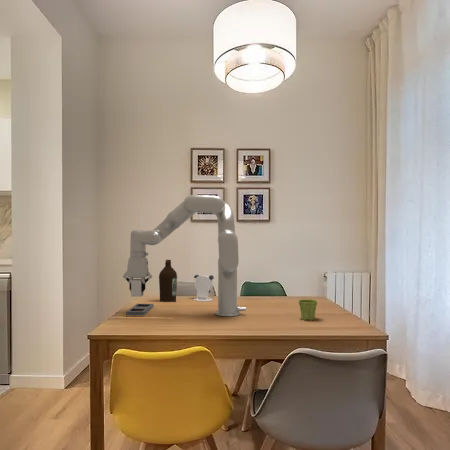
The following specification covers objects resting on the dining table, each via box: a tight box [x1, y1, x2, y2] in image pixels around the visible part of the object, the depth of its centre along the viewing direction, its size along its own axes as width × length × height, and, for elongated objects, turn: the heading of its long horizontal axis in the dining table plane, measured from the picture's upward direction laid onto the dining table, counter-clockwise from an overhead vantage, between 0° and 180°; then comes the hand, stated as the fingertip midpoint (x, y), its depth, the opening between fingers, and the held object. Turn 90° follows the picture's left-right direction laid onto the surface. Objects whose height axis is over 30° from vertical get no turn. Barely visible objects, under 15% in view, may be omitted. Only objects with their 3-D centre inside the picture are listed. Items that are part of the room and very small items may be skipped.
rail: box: [125, 303, 154, 318], centre depth 210 cm, size 9×22×2 cm, turn 178°
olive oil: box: [158, 259, 178, 303], centre depth 240 cm, size 11×11×25 cm
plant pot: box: [297, 299, 319, 321], centre depth 196 cm, size 9×9×9 cm
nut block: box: [130, 278, 144, 298], centre depth 204 cm, size 5×5×8 cm
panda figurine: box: [193, 274, 215, 302], centre depth 250 cm, size 12×11×15 cm
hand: (137, 290), depth 204 cm, fingers closed on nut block, 5 cm apart
